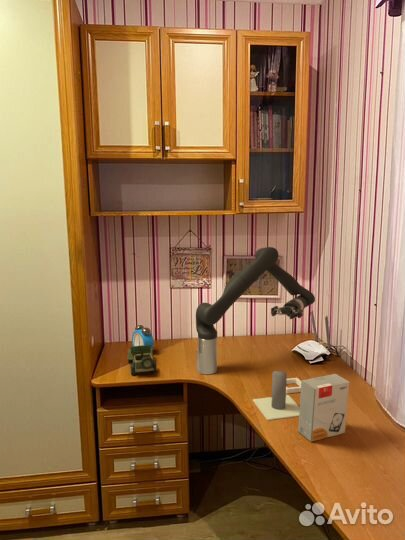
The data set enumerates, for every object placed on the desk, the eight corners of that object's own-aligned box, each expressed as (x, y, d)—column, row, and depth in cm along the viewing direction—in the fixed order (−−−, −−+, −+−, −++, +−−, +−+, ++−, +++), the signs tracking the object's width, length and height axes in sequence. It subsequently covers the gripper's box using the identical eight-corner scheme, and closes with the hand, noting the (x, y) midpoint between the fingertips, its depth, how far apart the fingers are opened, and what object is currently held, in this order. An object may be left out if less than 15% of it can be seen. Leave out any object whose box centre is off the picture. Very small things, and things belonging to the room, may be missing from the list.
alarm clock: (132, 350, 228) (131, 324, 225) (141, 348, 232) (141, 322, 229) (144, 358, 218) (144, 330, 215) (154, 355, 222) (154, 328, 219)
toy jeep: (150, 357, 220) (150, 337, 218) (157, 377, 196) (157, 355, 194) (127, 359, 217) (126, 339, 215) (131, 380, 193) (131, 357, 191)
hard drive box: (310, 443, 144) (313, 389, 141) (297, 431, 151) (299, 380, 147) (346, 433, 150) (349, 381, 147) (331, 422, 157) (334, 372, 154)
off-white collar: (286, 393, 180) (286, 389, 179) (277, 383, 189) (277, 379, 188) (306, 391, 182) (307, 386, 181) (297, 381, 191) (297, 377, 191)
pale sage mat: (267, 420, 158) (267, 419, 158) (252, 400, 174) (252, 399, 174) (306, 415, 162) (306, 414, 162) (288, 396, 177) (288, 395, 177)
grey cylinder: (274, 410, 165) (275, 377, 162) (269, 403, 170) (270, 371, 167) (287, 408, 166) (289, 375, 163) (282, 402, 171) (283, 370, 169)
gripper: (280, 298, 206) (267, 305, 193) (308, 301, 199) (297, 309, 185) (279, 312, 208) (266, 321, 194) (307, 317, 200) (296, 326, 187)
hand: (281, 315), depth 190 cm, fingers open, 8 cm apart
